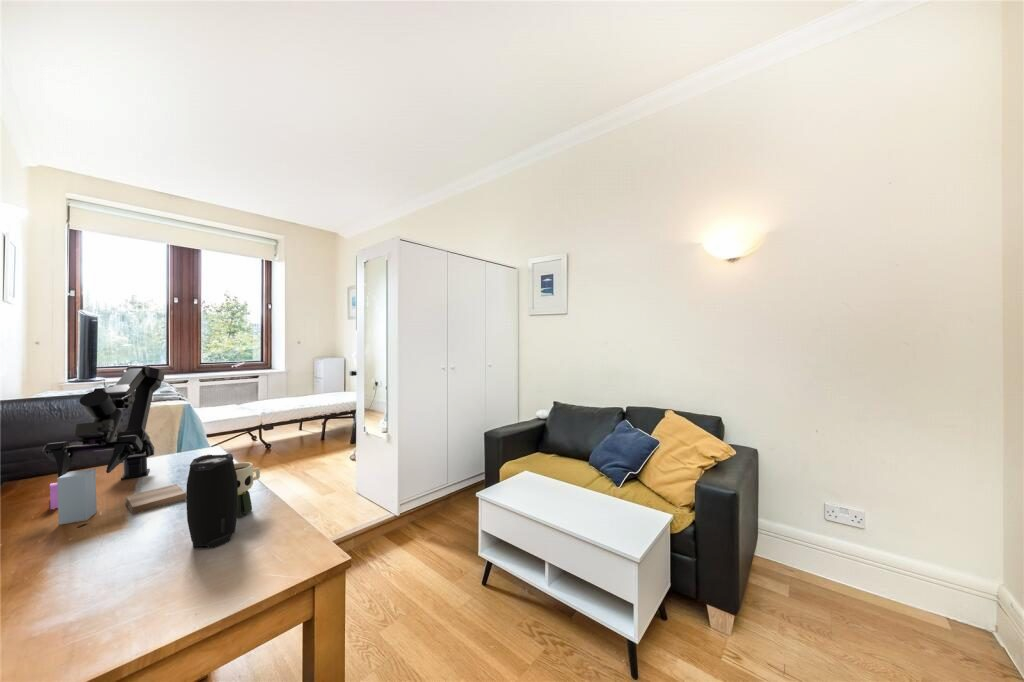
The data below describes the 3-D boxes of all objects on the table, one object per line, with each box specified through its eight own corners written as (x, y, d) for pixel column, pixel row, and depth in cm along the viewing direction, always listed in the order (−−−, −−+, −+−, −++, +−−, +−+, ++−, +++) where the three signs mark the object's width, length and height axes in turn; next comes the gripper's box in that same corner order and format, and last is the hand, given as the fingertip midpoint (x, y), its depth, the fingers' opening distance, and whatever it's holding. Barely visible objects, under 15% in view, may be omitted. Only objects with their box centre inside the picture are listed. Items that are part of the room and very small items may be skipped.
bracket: (81, 503, 108) (80, 479, 107) (50, 510, 103) (49, 485, 103) (79, 491, 116) (79, 469, 116) (51, 497, 112) (50, 474, 111)
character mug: (218, 527, 93) (217, 475, 93) (207, 519, 97) (206, 470, 97) (266, 509, 102) (265, 463, 102) (254, 503, 106) (253, 458, 106)
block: (70, 516, 100) (69, 471, 99) (96, 511, 102) (95, 468, 102) (58, 524, 95) (57, 478, 95) (86, 520, 97) (84, 474, 97)
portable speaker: (188, 540, 88) (186, 457, 87) (237, 526, 94) (235, 449, 93) (186, 556, 81) (184, 467, 81) (240, 541, 87) (238, 457, 87)
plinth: (126, 503, 107) (125, 496, 107) (176, 490, 116) (176, 483, 116) (133, 514, 100) (132, 507, 100) (186, 499, 109) (186, 492, 109)
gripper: (45, 414, 101) (16, 466, 92) (137, 407, 110) (120, 455, 100) (64, 436, 109) (39, 487, 99) (149, 428, 117) (134, 474, 107)
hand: (84, 475), depth 101 cm, fingers open, 9 cm apart
